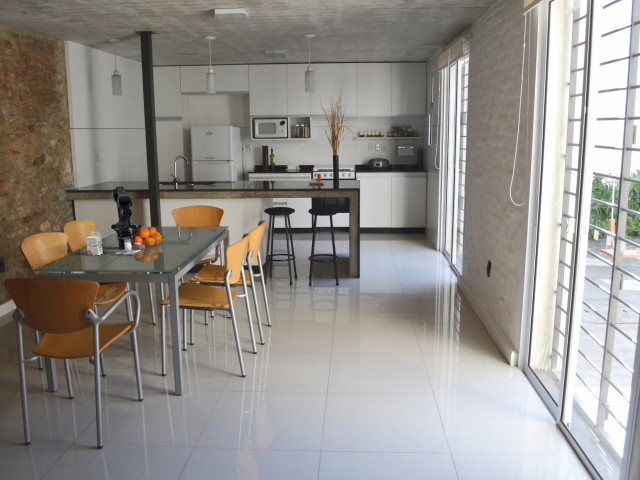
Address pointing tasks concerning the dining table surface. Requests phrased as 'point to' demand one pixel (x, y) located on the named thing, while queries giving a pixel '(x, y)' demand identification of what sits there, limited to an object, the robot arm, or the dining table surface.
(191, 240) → the dining table surface
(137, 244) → the button
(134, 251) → the picture board
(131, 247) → the button housing
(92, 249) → the ink cartridge box
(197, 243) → the dining table surface
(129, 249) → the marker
